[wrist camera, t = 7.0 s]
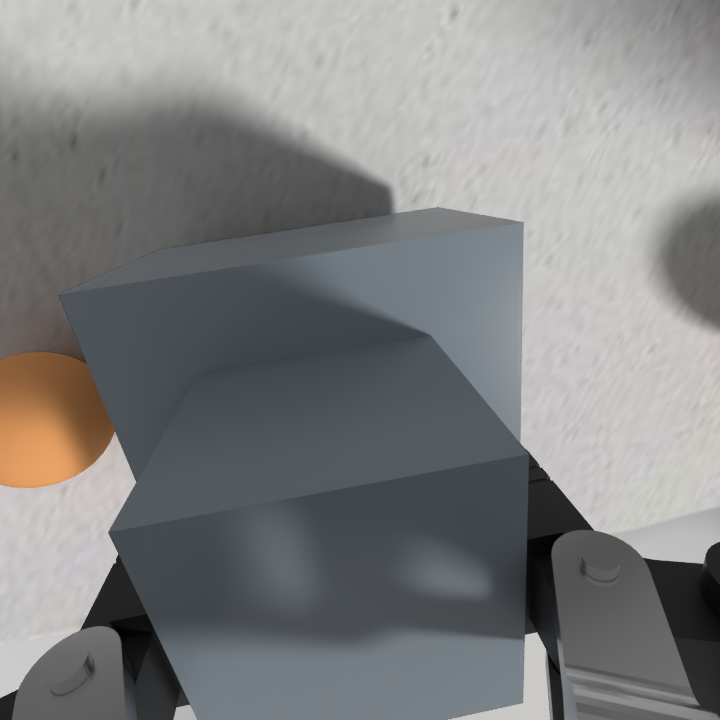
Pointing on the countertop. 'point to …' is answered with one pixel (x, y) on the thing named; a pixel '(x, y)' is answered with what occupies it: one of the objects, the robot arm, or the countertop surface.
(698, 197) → the countertop surface
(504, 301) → the gray stepped step block
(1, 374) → the brown egg
